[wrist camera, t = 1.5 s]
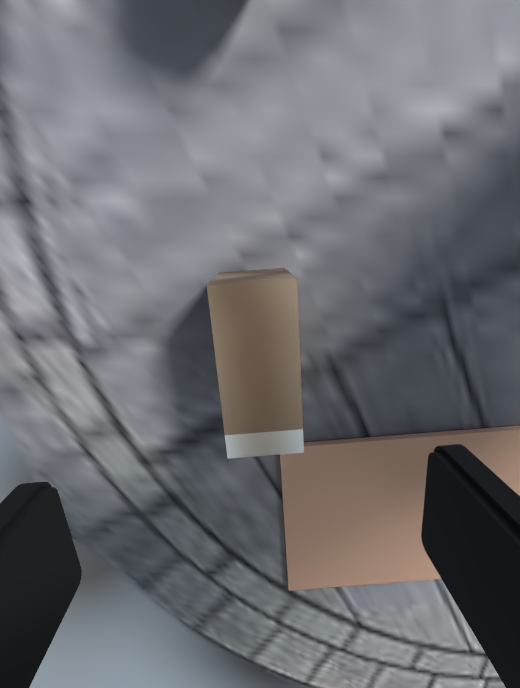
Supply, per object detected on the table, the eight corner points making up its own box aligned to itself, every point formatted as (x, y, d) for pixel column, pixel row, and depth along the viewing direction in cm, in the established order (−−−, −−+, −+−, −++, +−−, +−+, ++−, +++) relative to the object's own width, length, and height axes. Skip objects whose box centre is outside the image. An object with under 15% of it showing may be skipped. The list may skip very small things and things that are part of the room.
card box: (284, 267, 20) (297, 278, 14) (290, 399, 23) (304, 452, 17) (219, 272, 20) (206, 285, 14) (233, 404, 23) (227, 458, 17)
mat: (552, 422, 24) (558, 426, 23) (520, 566, 28) (525, 571, 28) (279, 444, 24) (279, 448, 23) (288, 584, 28) (288, 590, 28)
